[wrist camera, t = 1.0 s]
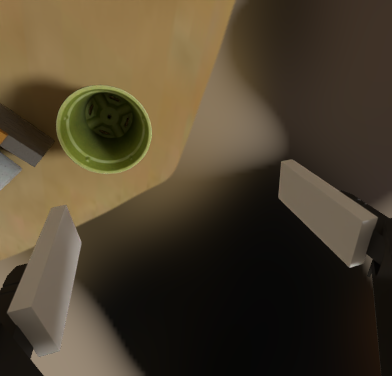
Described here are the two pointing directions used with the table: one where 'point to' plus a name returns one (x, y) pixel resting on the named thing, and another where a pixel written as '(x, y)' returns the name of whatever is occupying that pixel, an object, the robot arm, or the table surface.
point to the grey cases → (22, 137)
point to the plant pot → (92, 124)
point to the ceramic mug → (7, 170)
